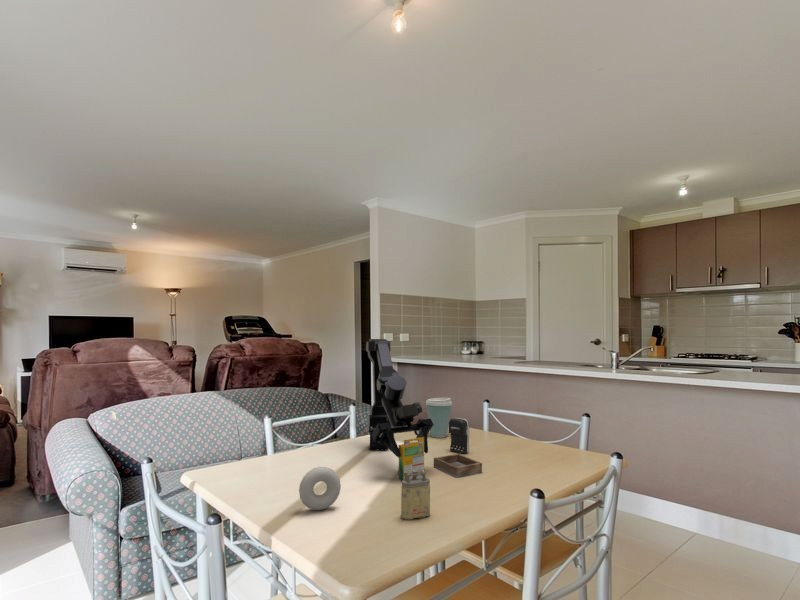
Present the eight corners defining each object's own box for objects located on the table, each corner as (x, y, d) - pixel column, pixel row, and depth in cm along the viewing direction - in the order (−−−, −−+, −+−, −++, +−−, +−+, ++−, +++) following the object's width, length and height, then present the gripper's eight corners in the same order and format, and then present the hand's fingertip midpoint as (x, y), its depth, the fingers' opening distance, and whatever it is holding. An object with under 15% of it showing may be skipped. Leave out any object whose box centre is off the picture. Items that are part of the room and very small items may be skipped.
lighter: (426, 510, 110) (426, 468, 110) (433, 517, 106) (433, 472, 107) (398, 515, 107) (398, 471, 108) (404, 521, 104) (405, 476, 104)
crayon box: (418, 474, 136) (419, 434, 137) (424, 477, 134) (425, 436, 134) (397, 479, 132) (398, 437, 133) (403, 482, 130) (403, 440, 130)
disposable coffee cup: (423, 438, 180) (423, 399, 181) (427, 432, 190) (428, 395, 191) (450, 440, 177) (450, 400, 178) (453, 433, 188) (453, 396, 189)
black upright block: (446, 451, 162) (447, 418, 162) (453, 449, 165) (453, 416, 165) (463, 455, 157) (463, 421, 158) (469, 453, 160) (469, 419, 160)
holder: (456, 477, 134) (456, 467, 134) (433, 466, 144) (433, 457, 144) (482, 472, 138) (481, 463, 139) (458, 462, 149) (458, 453, 149)
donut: (338, 504, 113) (338, 462, 114) (342, 509, 110) (342, 466, 111) (297, 510, 110) (298, 467, 110) (300, 515, 106) (300, 471, 107)
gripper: (376, 395, 133) (395, 442, 123) (430, 391, 143) (451, 435, 132) (364, 418, 140) (381, 465, 129) (416, 413, 149) (436, 456, 139)
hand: (413, 454), depth 132 cm, fingers open, 9 cm apart
